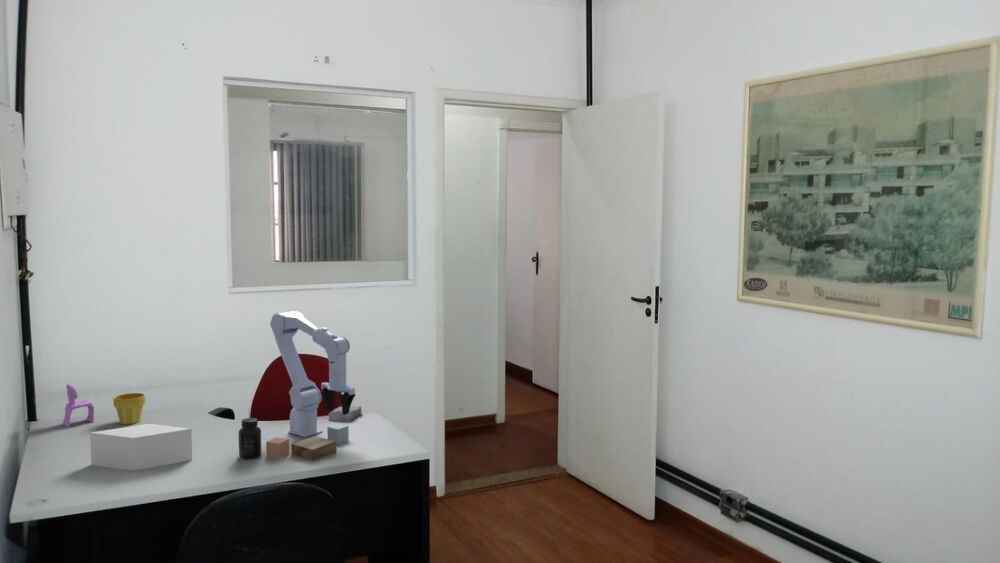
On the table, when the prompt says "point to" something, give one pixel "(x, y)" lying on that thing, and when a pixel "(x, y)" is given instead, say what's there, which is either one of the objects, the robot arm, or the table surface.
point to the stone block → (339, 416)
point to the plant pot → (129, 407)
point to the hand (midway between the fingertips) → (338, 412)
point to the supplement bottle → (249, 439)
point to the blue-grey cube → (338, 433)
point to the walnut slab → (313, 448)
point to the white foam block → (141, 446)
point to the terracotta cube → (277, 447)
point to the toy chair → (76, 406)
